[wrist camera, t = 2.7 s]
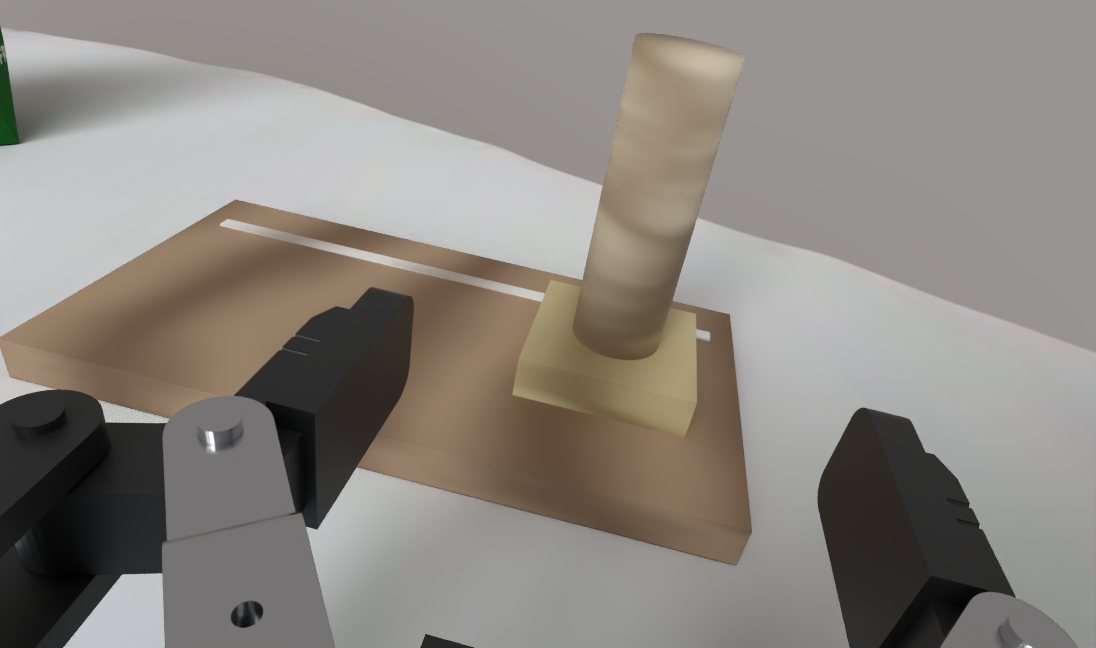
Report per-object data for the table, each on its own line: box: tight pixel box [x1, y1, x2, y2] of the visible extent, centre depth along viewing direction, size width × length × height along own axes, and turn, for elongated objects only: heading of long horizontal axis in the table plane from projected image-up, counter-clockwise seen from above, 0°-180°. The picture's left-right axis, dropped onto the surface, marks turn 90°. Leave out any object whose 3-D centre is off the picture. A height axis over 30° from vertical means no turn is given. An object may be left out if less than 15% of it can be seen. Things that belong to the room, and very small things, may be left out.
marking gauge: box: [512, 33, 745, 437], centre depth 22 cm, size 6×6×12 cm
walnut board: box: [0, 200, 752, 565], centre depth 26 cm, size 24×13×2 cm, turn 79°
